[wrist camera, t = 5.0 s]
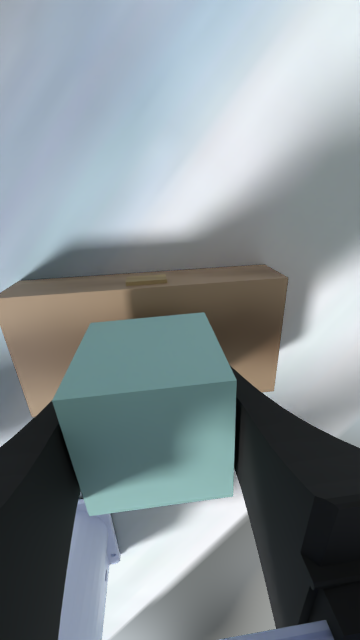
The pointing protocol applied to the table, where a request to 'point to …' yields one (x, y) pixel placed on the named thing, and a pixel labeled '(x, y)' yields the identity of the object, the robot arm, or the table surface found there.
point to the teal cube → (149, 414)
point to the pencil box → (142, 302)
